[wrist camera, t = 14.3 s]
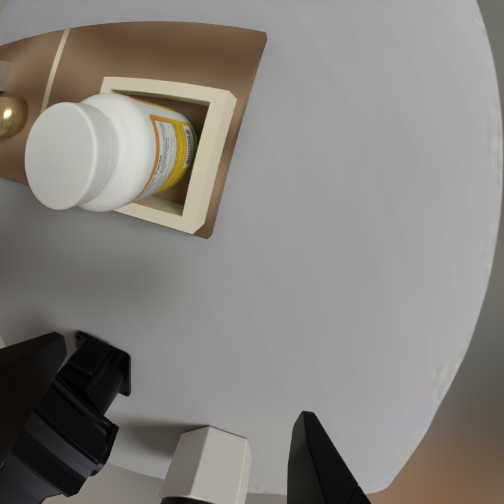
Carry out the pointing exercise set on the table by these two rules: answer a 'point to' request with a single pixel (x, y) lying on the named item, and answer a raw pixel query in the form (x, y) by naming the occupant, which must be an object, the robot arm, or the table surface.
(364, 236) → the table surface
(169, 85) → the socket
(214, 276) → the table surface
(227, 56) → the board
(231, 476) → the jar
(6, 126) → the gold knob
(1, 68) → the cover
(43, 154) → the supplement bottle
